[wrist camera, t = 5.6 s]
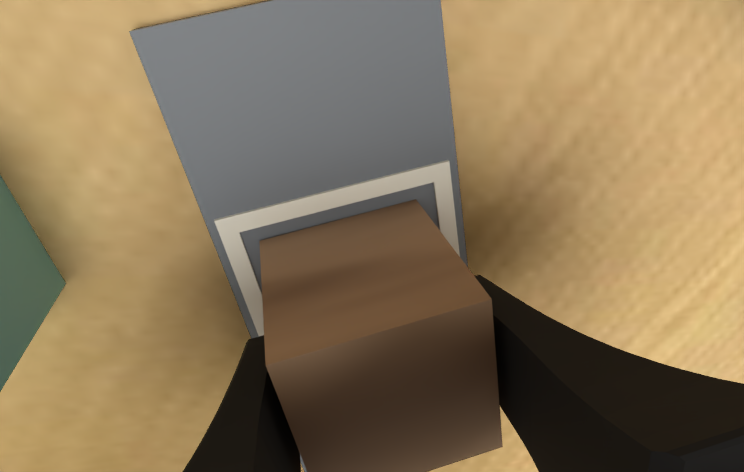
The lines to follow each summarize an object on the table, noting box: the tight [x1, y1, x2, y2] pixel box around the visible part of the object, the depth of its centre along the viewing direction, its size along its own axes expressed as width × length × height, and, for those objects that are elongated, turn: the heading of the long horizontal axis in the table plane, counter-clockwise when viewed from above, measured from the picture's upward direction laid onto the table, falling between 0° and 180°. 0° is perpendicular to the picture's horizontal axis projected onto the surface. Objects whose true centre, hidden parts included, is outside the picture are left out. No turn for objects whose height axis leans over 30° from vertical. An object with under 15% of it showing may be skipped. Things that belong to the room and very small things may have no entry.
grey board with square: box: [129, 0, 468, 472], centre depth 15 cm, size 16×7×1 cm, turn 10°
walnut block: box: [259, 199, 502, 472], centre depth 13 cm, size 4×4×5 cm
